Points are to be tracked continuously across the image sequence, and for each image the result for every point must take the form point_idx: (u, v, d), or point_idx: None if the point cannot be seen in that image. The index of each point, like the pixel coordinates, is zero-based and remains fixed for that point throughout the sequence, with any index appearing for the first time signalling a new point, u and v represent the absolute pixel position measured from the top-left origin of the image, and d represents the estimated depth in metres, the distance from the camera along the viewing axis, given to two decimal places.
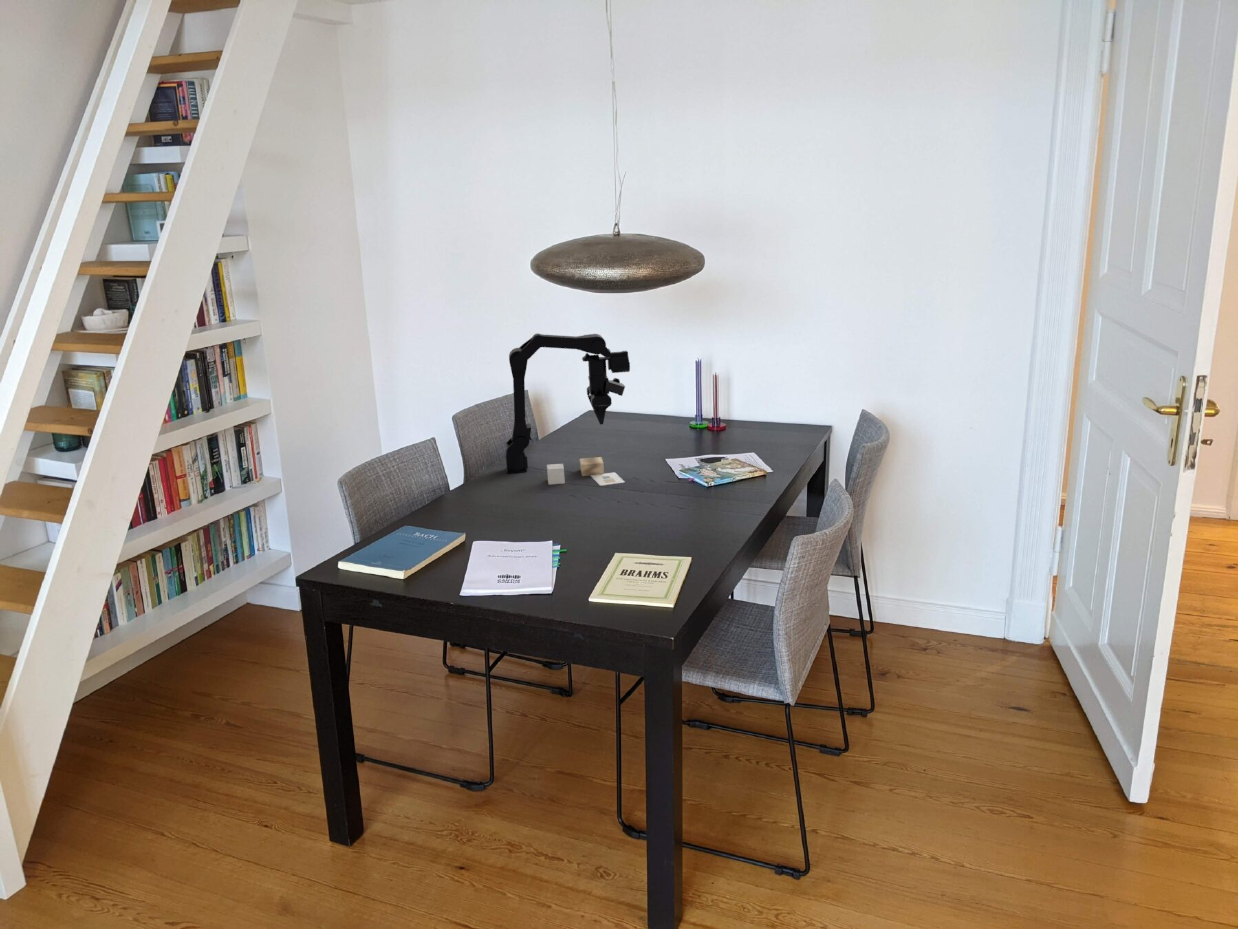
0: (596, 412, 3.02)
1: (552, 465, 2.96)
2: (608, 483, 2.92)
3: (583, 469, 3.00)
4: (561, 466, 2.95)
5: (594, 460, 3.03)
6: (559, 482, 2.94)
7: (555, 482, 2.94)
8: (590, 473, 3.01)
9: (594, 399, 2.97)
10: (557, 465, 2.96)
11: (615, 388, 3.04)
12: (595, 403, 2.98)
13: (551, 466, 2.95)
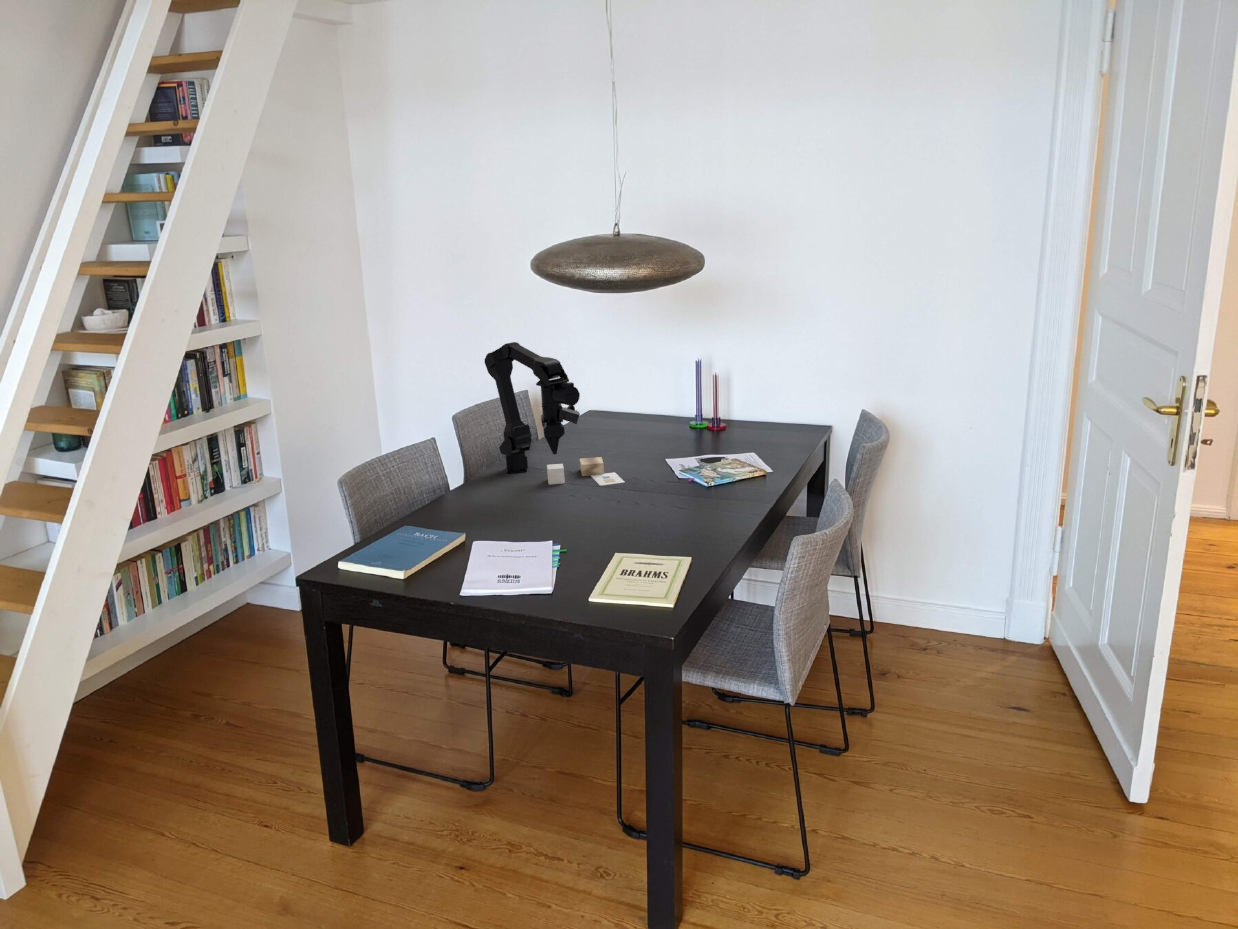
0: (549, 441, 2.86)
1: (552, 465, 2.96)
2: (608, 483, 2.92)
3: (583, 469, 3.00)
4: (561, 466, 2.95)
5: (594, 460, 3.03)
6: (559, 482, 2.94)
7: (555, 482, 2.94)
8: (590, 473, 3.01)
9: (546, 428, 2.82)
10: (557, 465, 2.96)
11: (569, 416, 2.89)
12: (547, 433, 2.82)
13: (551, 466, 2.95)
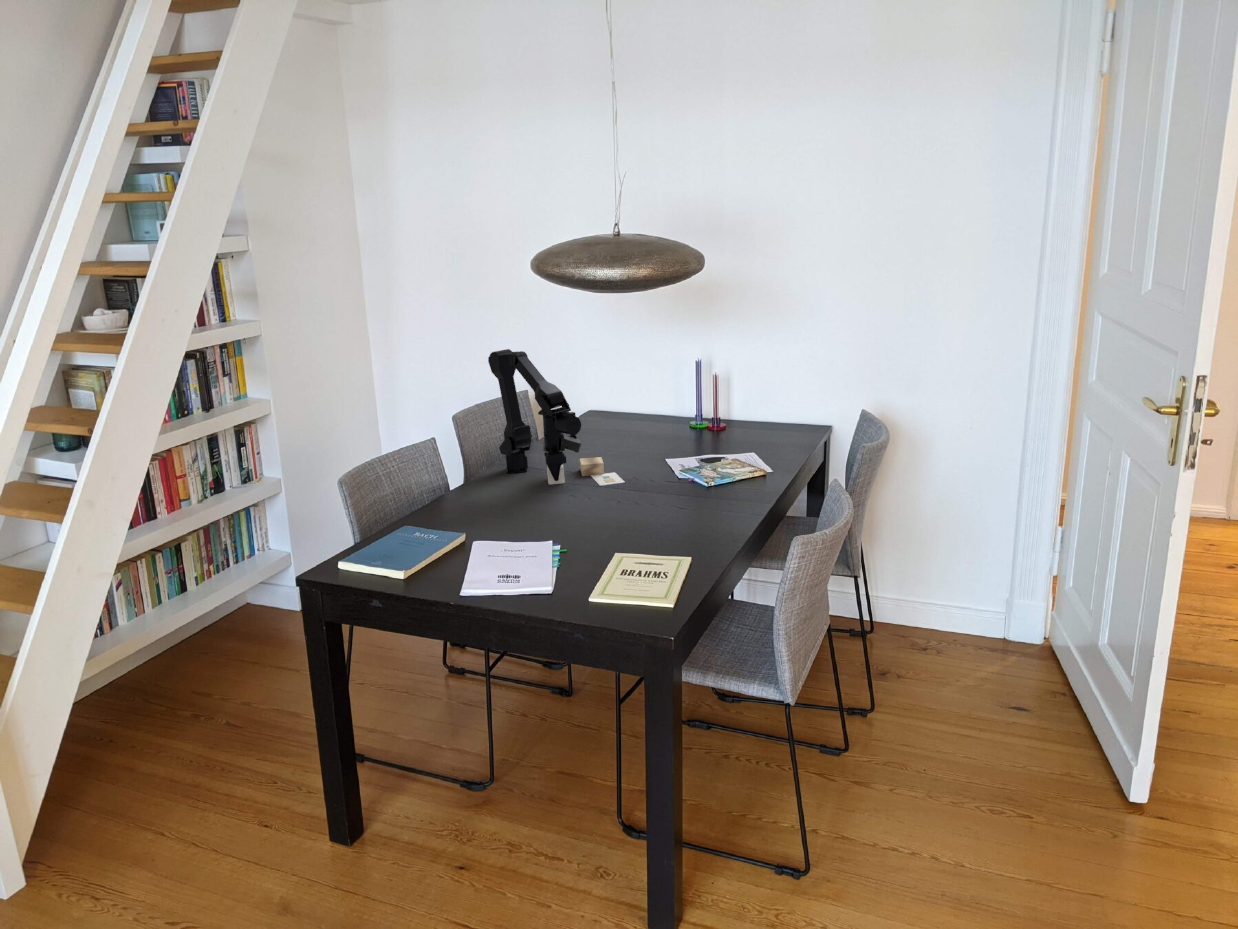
0: (550, 468, 2.91)
1: None
2: (608, 483, 2.92)
3: (583, 469, 3.00)
4: (561, 466, 2.95)
5: (594, 460, 3.04)
6: (559, 482, 2.94)
7: (555, 482, 2.94)
8: (590, 473, 3.01)
9: (548, 458, 2.84)
10: None
11: (571, 445, 2.91)
12: (549, 462, 2.85)
13: None
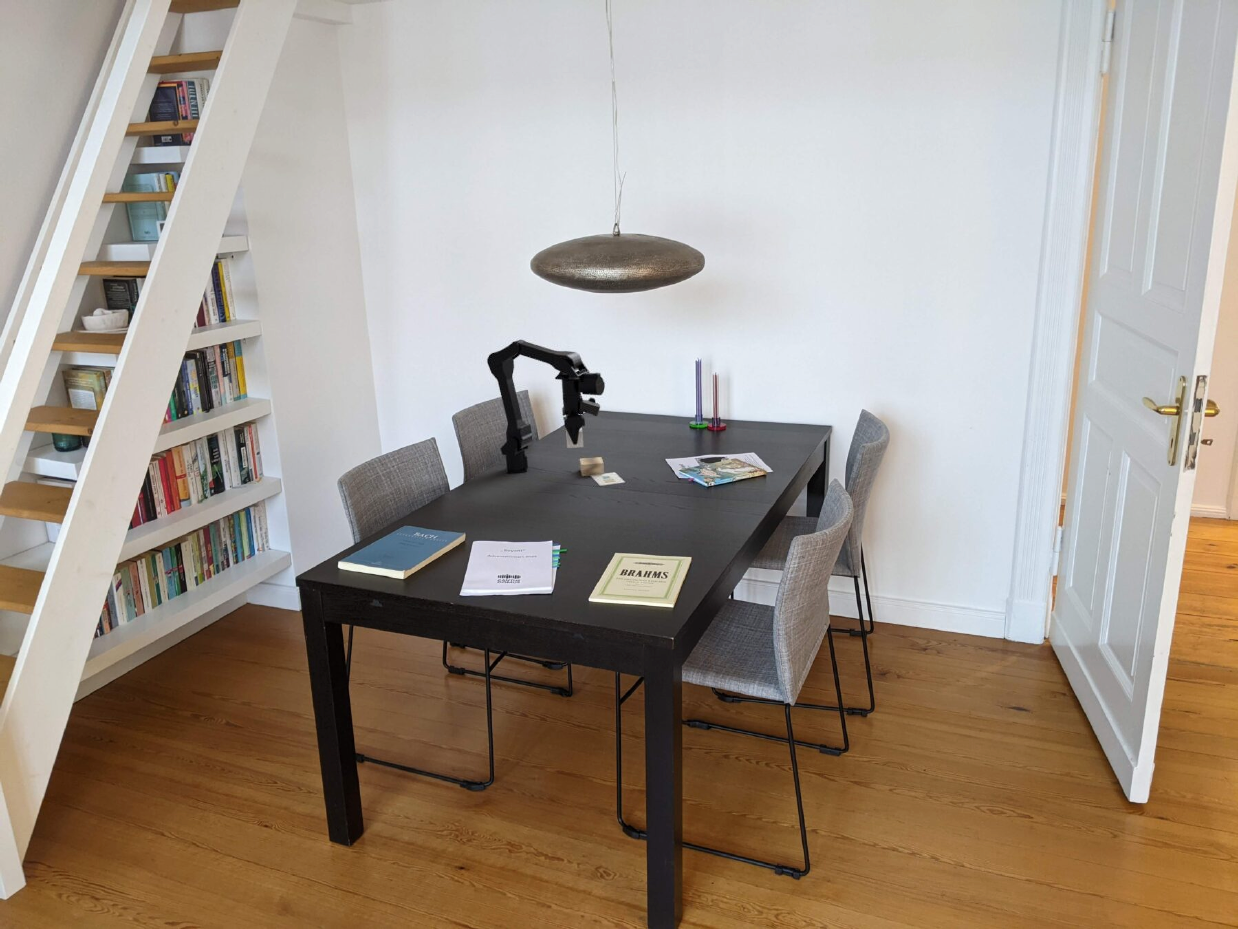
0: (569, 431, 2.92)
1: None
2: (608, 483, 2.92)
3: (583, 469, 3.00)
4: (580, 430, 2.96)
5: (594, 460, 3.04)
6: (578, 445, 2.95)
7: (574, 445, 2.95)
8: (590, 473, 3.01)
9: (566, 420, 2.86)
10: None
11: (590, 408, 2.92)
12: (568, 424, 2.86)
13: None
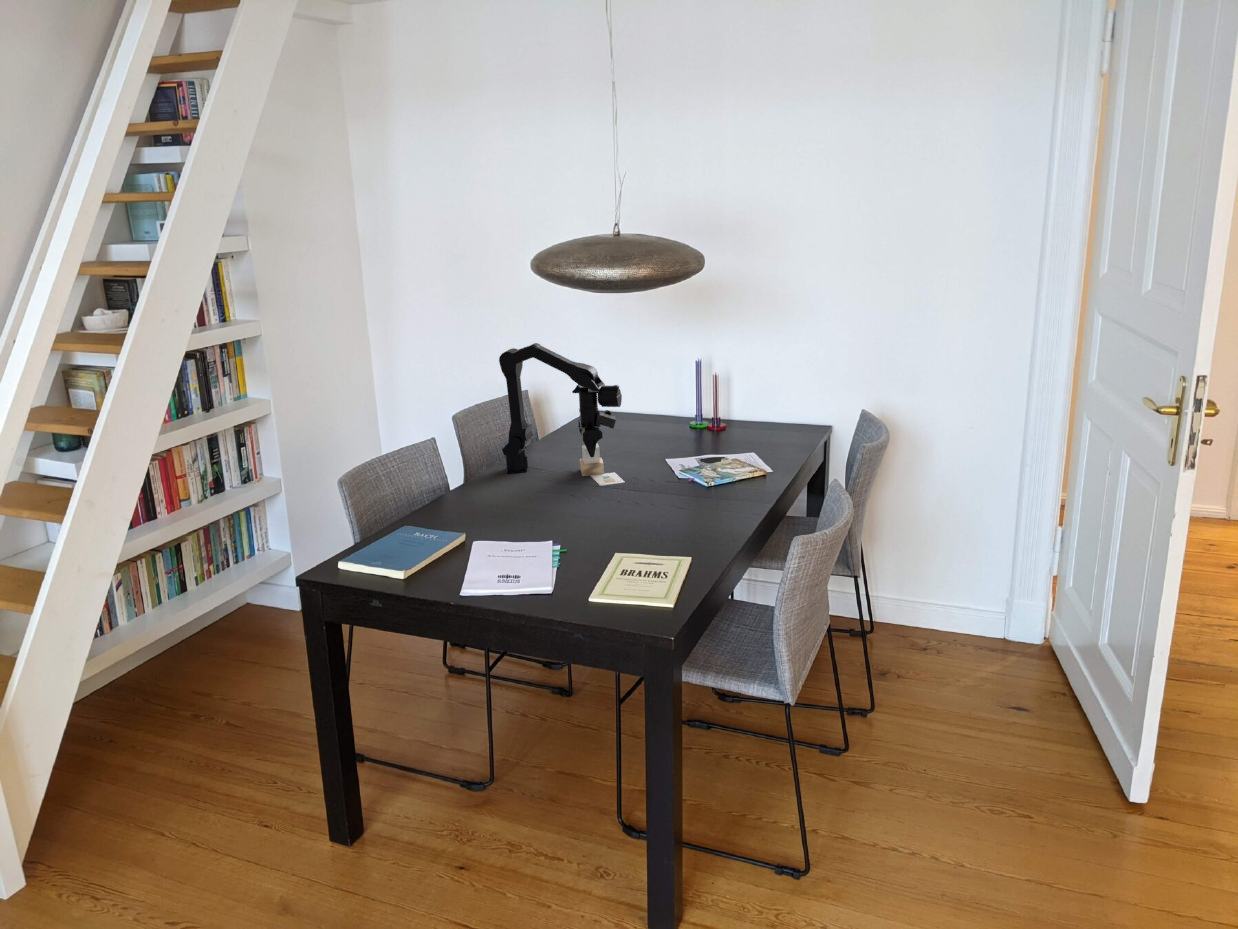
0: (586, 445, 2.96)
1: None
2: (608, 483, 2.92)
3: (583, 469, 3.00)
4: (596, 446, 3.01)
5: None
6: (594, 461, 3.01)
7: (590, 461, 3.01)
8: (590, 473, 3.01)
9: (585, 433, 2.91)
10: None
11: (606, 421, 2.98)
12: (586, 437, 2.91)
13: None
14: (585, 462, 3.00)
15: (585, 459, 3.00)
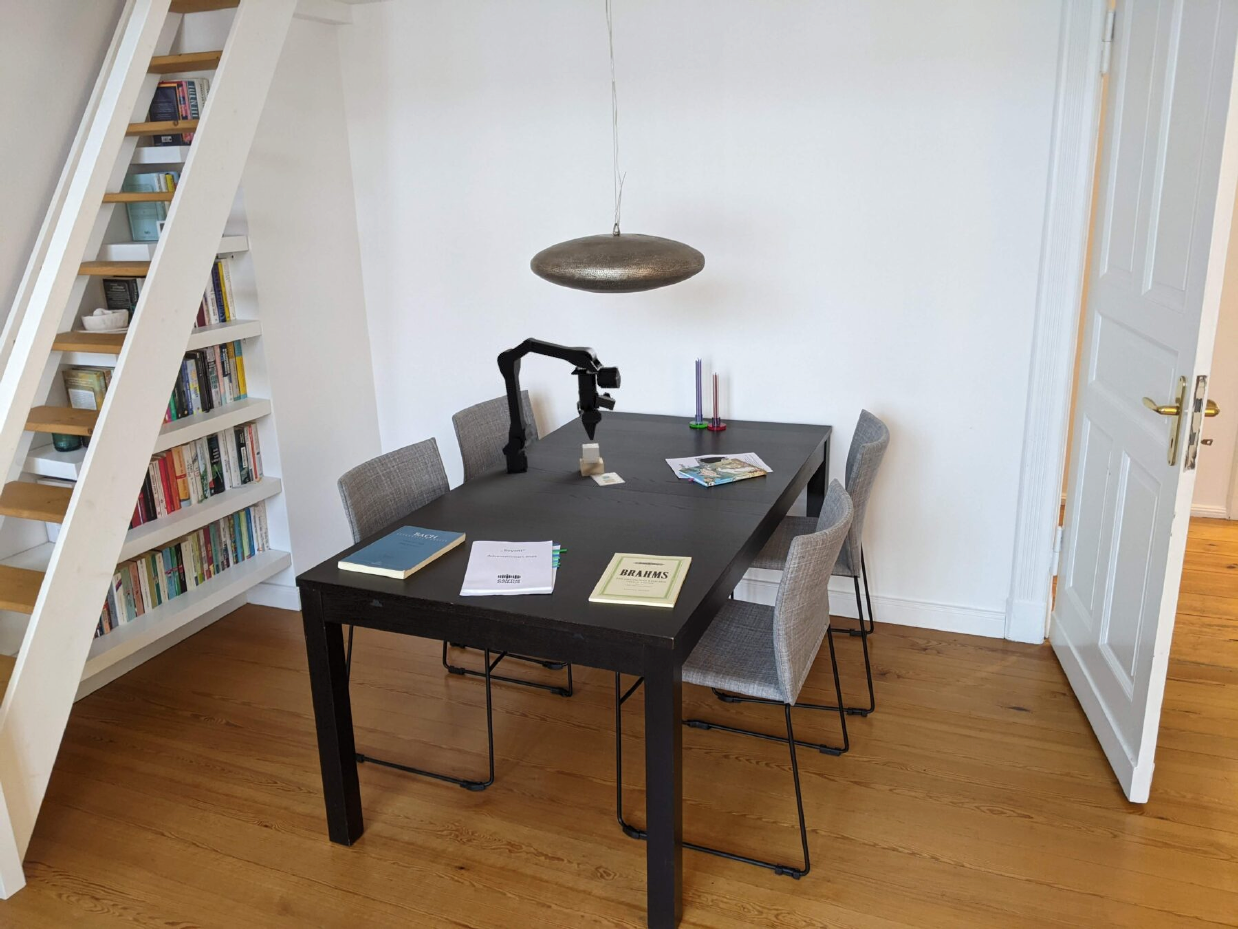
0: (586, 427, 2.94)
1: (587, 444, 3.03)
2: (608, 483, 2.92)
3: (583, 469, 3.00)
4: (596, 445, 3.02)
5: None
6: (594, 461, 3.01)
7: (590, 461, 3.01)
8: (590, 473, 3.01)
9: (584, 415, 2.89)
10: (592, 445, 3.03)
11: (605, 403, 2.96)
12: (585, 419, 2.90)
13: (586, 445, 3.02)
14: (585, 462, 3.01)
15: (585, 459, 3.00)
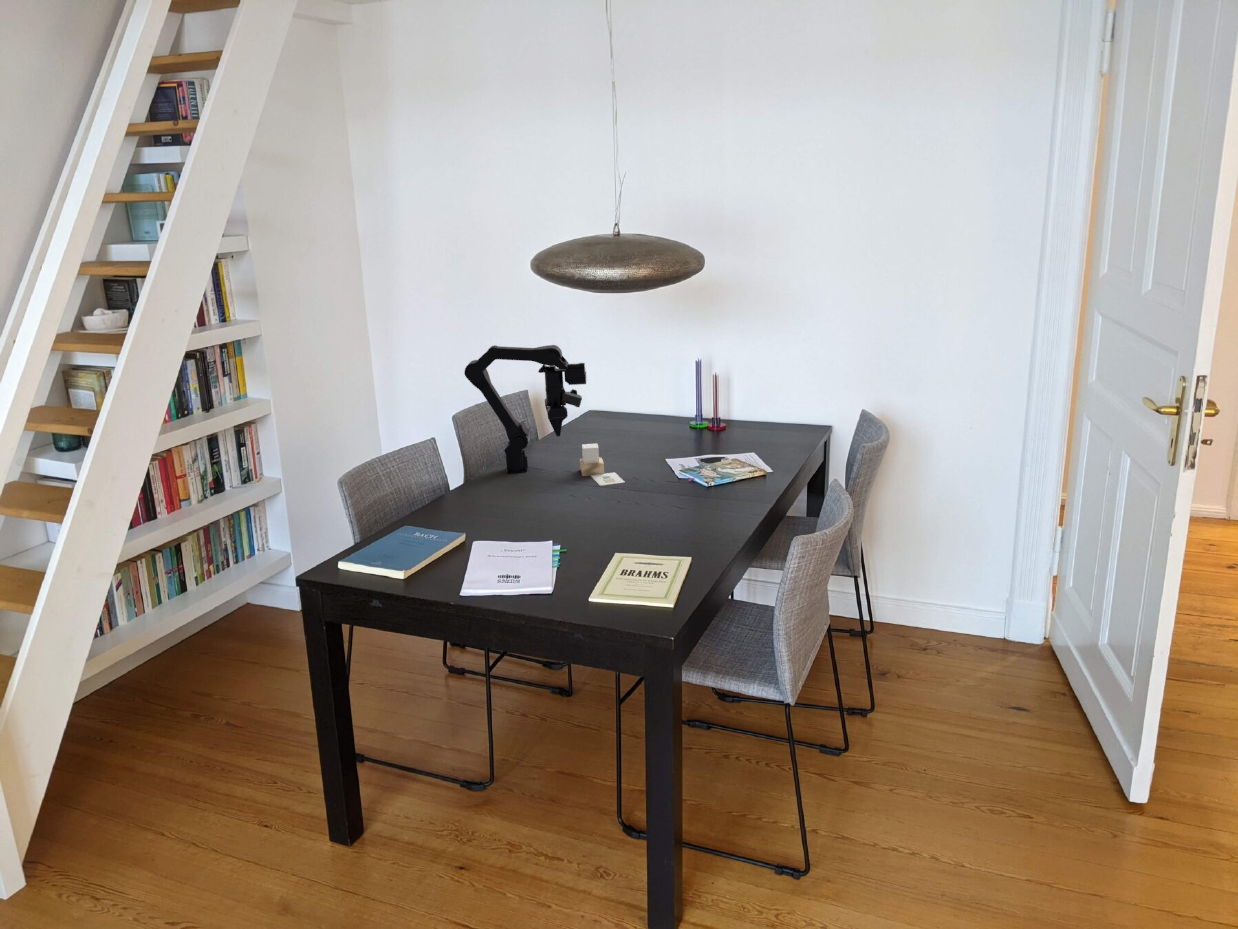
0: (552, 424, 2.99)
1: (587, 445, 3.03)
2: (608, 483, 2.92)
3: (583, 469, 3.00)
4: (596, 446, 3.01)
5: None
6: (594, 461, 3.01)
7: (590, 461, 3.01)
8: (590, 473, 3.01)
9: (550, 411, 2.95)
10: (591, 445, 3.02)
11: (572, 400, 3.02)
12: (551, 415, 2.95)
13: (586, 445, 3.02)
14: (584, 462, 3.01)
15: (584, 459, 3.00)
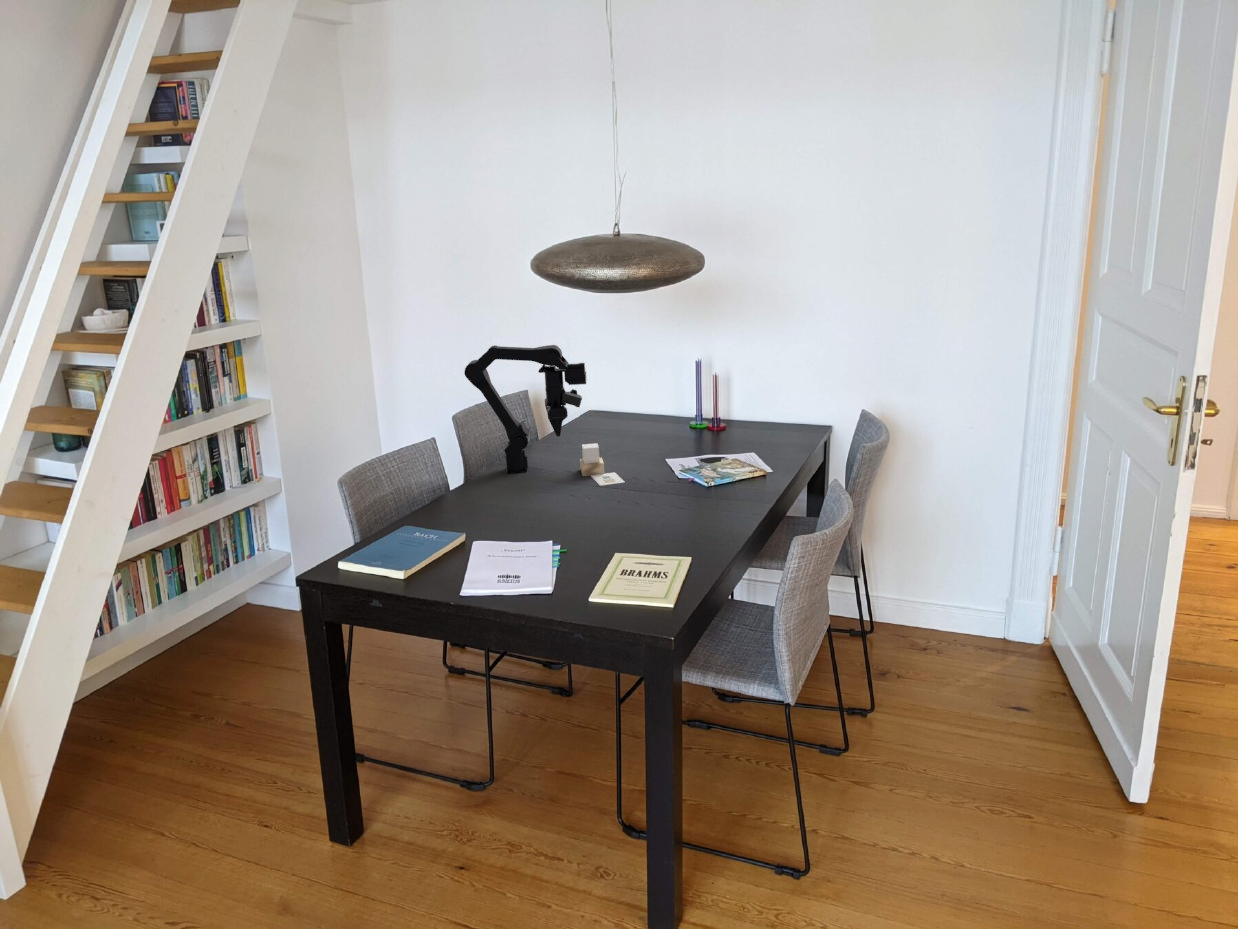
0: (552, 424, 2.99)
1: (587, 445, 3.03)
2: (608, 483, 2.92)
3: (584, 469, 3.00)
4: (596, 445, 3.01)
5: None
6: (594, 461, 3.01)
7: (590, 461, 3.01)
8: (591, 473, 3.01)
9: (550, 411, 2.95)
10: (592, 445, 3.02)
11: (572, 400, 3.02)
12: (551, 415, 2.95)
13: (586, 446, 3.02)
14: (585, 462, 3.01)
15: (585, 459, 3.00)
